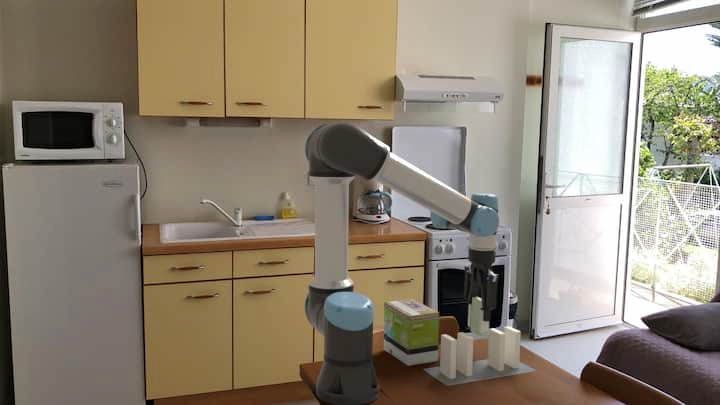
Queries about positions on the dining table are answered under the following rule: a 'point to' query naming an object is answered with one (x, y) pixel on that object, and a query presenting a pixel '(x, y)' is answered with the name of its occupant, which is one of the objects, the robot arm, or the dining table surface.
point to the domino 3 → (496, 349)
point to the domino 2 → (464, 353)
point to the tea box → (411, 331)
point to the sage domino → (476, 315)
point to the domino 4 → (512, 347)
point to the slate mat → (478, 373)
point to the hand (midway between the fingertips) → (478, 328)
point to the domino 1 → (448, 356)
